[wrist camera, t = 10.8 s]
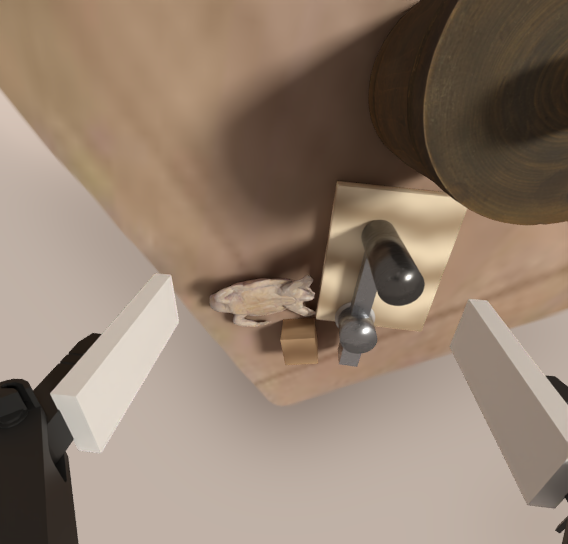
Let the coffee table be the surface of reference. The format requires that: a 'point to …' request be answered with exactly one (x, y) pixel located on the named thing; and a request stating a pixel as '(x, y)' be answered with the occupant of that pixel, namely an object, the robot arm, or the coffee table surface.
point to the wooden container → (480, 103)
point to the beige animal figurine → (263, 298)
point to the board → (413, 232)
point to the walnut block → (299, 341)
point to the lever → (377, 288)
